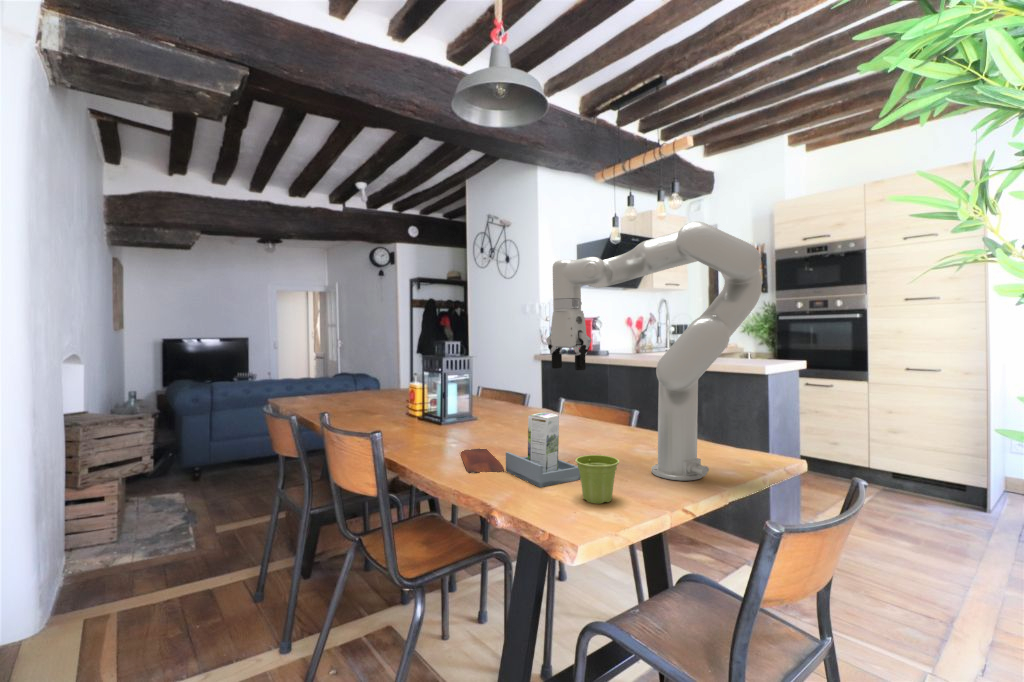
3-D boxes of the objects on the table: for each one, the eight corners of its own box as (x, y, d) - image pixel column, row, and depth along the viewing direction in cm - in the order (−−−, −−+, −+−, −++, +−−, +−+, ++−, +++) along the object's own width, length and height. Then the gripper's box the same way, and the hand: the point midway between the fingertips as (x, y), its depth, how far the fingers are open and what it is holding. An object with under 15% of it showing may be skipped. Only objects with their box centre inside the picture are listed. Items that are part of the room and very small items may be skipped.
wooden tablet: (506, 474, 132) (506, 468, 132) (467, 476, 130) (467, 470, 130) (489, 450, 158) (490, 444, 158) (457, 451, 156) (457, 446, 156)
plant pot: (570, 504, 108) (570, 463, 108) (580, 490, 117) (580, 453, 117) (615, 509, 105) (615, 467, 105) (621, 495, 114) (622, 456, 113)
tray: (580, 479, 125) (580, 459, 125) (539, 487, 119) (539, 466, 119) (544, 464, 139) (544, 446, 138) (505, 471, 132) (505, 452, 132)
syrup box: (539, 467, 133) (539, 411, 132) (559, 471, 129) (559, 414, 129) (527, 472, 128) (527, 414, 128) (546, 476, 125) (546, 417, 124)
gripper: (599, 304, 133) (600, 369, 134) (557, 307, 148) (558, 366, 148) (578, 304, 129) (579, 371, 130) (536, 307, 143) (538, 368, 144)
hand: (568, 369), depth 139 cm, fingers open, 9 cm apart
